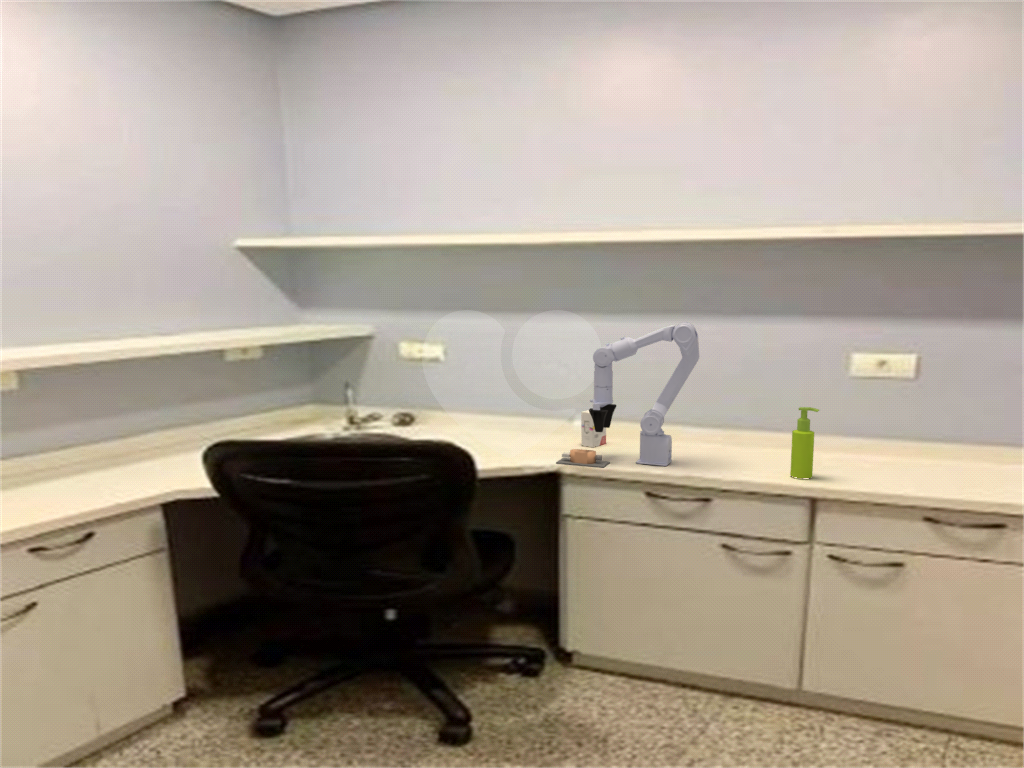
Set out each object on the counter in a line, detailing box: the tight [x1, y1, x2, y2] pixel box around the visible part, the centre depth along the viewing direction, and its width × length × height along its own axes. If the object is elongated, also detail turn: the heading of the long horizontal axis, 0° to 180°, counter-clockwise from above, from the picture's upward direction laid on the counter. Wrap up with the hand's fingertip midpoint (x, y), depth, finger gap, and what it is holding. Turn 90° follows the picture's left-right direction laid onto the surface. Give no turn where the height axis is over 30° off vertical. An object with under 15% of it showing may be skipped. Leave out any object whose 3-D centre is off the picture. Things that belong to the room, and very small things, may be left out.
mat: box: [555, 457, 611, 469], centre depth 253 cm, size 15×7×1 cm, turn 67°
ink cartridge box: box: [580, 404, 607, 448], centre depth 279 cm, size 9×5×15 cm, turn 143°
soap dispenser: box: [789, 406, 820, 478], centre depth 234 cm, size 6×7×20 cm
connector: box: [561, 448, 603, 464], centre depth 253 cm, size 12×4×3 cm, turn 67°
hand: (602, 429), depth 257 cm, fingers open, 7 cm apart
